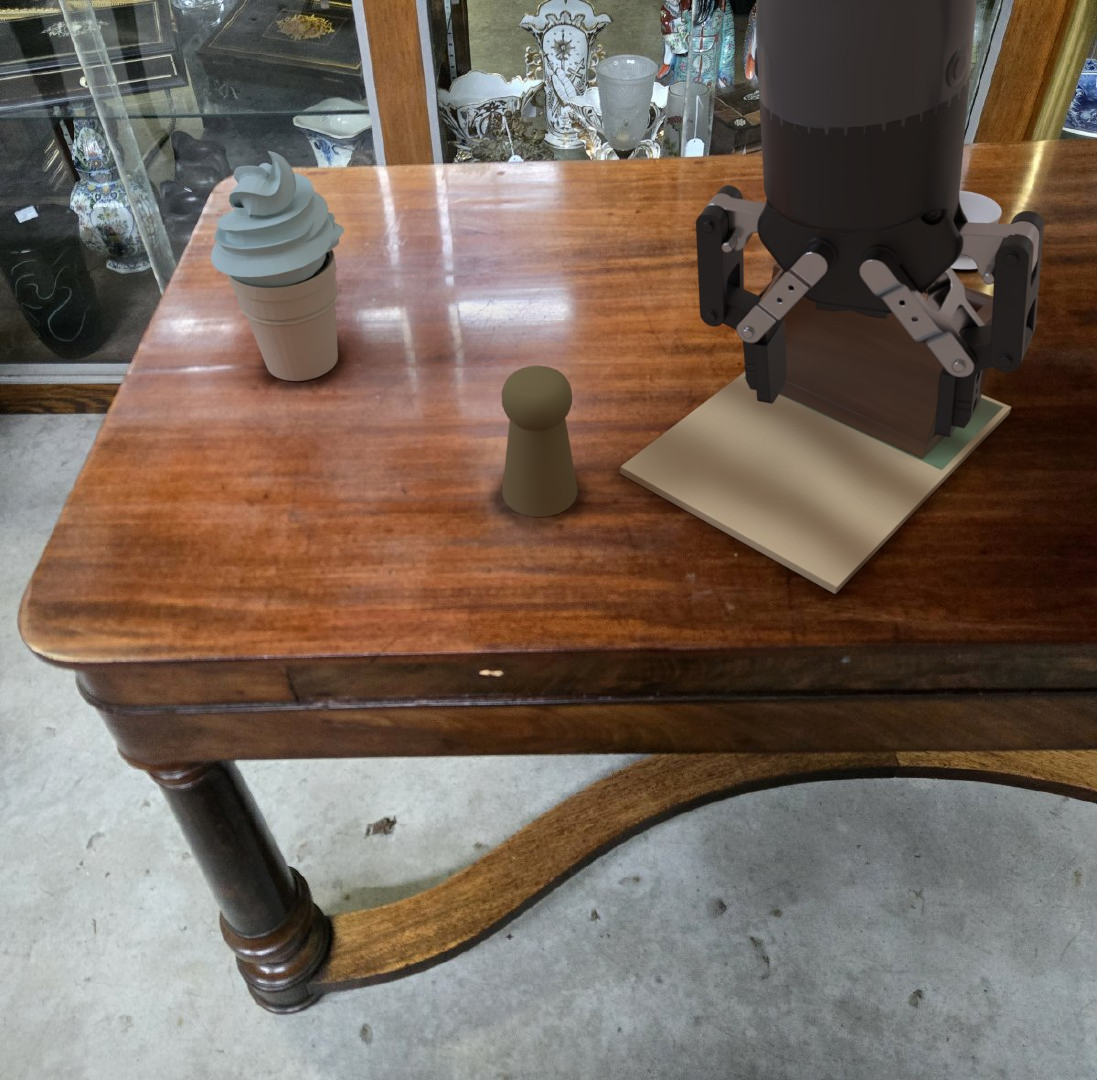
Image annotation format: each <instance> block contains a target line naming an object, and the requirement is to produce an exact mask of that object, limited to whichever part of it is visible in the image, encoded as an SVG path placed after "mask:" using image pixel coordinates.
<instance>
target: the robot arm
mask: <svg viewBox="0 0 1097 1080" xmlns="http://www.w3.org/2000/svg"><path fill="white" fill-rule="evenodd" d="M755 5H756V7H755V46H756V47H755V49H754V60H753V61H754V74H755V77H756V79H757V82H758V101H759V102H758V103H759V119H760V120H759V121H760V136H761V138H760V140H761V158H762V173H763V176H762V178H763V190H764V191H763V192H764V194H765V198H766V201H765V202H761V201H755V200H749V199H744V196H743V193H742V192H741V190H740V189H738V188H737V187H736V186H734V185H730V184H729V185H728V184H726V185H723V186H722V187H720V188H719V190H718V191H717V192H716V194H715V195H714V196H713V197H712V198H710V201H709V202H708V203H707V204H706V205H705V207H704V209H703V210H702V211H701V213H700V214H699V215H698V216H697V218H696V220H695V235H696V237H695V238H696V256H697V257H696V259H697V260H696V261H697V280H698V301H699V302H698V303H699V316H700V319H701V321H702V322H704V324H706V325H707V326H708V327H713V328H716V327H717V328H718V327H720V326H722V324H723V325H725V326H727V327H729V328H732V329H733V330H735V332H736V335H737V336H738V338H739V339H740V340H741V341H742V347H743V348H742V349H743V361H744V369H745V371H746V372H745V371H744V372H745V374H746V382H747V383H748V385H749V387H750V389H752V390H756V391H757V400H758V401H760V402H765V403H770V404H773V403H774V401H775V400H776V398H777V396H778V395H779V393H780V391H781V390H782V388H783V386H784V384H785V381H786V377H787V368H786V345H785V322H784V319H781V318H782V317H783V316H784V315H785V314H786V313H787V312H788V311H789V310H790V309H791V308H792V307H793V306H794V305H795V304H796V303H797V302H798V301H799V299H800V298H801V297H802V296H804V297H805V298H807V299H808V300H810V301H811V302H813V303H816V309H819V310H826V311H844V310H852V311H855V312H857V313H860V314H863V315H866V316H868V317H875V318H882V319H887V317H888V315H889V314H891V313H893V314H894V315H895V316H896V317H897V319H898V320H899V321H900V323H901V324H902V325H903V326H904V328H905V329H906V330H907V332H908V333H909V334H910V336H911V337H912V338H913V339H914V340H915V341H916V342H917V343H922V342H923V343H925V344H926V345H927V346H928V347H929V349H930V350H931V351H932V352H933V354H934V355H935V356H936V358H937V359H938V360H939V362H940V363H941V364H942V365H943V368H942V370H941V372H940V375H939V386H938V398H937V409H936V420H935V434H936V435H941V436H946V437H951V436H952V434H953V432H954V430H955V428H956V427H960V428H965V427H966V425H967V424H968V423H969V421H970V419H971V417H972V415H973V412H974V410H975V408H976V406H977V403H978V401H979V393H980V392H979V391H980V384H981V377H982V370H983V369H985V368H994V369H995V370H997V371H998V372H1002V373H1011V372H1014V371H1017V370H1018V369H1019V368H1020V366H1021V364H1022V362H1023V360H1024V358H1025V356H1026V353H1027V350H1028V348H1029V346H1030V343H1031V341H1032V338H1033V335H1034V333H1035V331H1036V326H1037V325H1036V324H1037V315H1038V302H1039V291H1040V290H1039V289H1040V279H1041V268H1042V267H1041V266H1042V255H1043V254H1042V253H1043V245H1044V244H1043V243H1044V242H1043V241H1044V229H1045V222H1044V219H1043V217H1042V216H1041V215H1040V214H1039V213H1037V212H1035V211H1032V210H1024V211H1021V212H1017V213H1016V214H1015V215H1014V216H1013V218H1011V221H1010V223H998V224H995V223H971V222H968V220H967V218H966V216H965V214H964V212H963V210H962V207H961V204H960V199H959V191H961V180H962V170H963V169H962V168H963V159H964V158H963V156H964V148H965V138H966V137H965V135H966V124H967V114H968V103H969V92H970V91H969V90H970V81H971V80H970V79H971V69H972V68H971V67H972V59H973V47H974V37H975V36H974V35H975V24H976V13H977V0H756V4H755ZM756 233H757V236H758V238H759V240H760V242H761V243H762V245H763V246H764V248H765V249H766V250H767V251H768V253H769V254H770V255H771V257H772V259H774V260H775V262H776V263H778V264H779V266H780V267H781V269H780V271H779V272H778V273H777V275H776V276H775V277H774V278H773V279H772V278H771V280H770V281H769V282H768V283H767V284H766V286H765V287H764V288H763V289H762V290H761V291H760V292H759V293H758V294H755V293H753V292H752V291H749V290H747V289H745V273H744V270H745V269H744V268H745V267H744V263H745V262H744V260H745V259H744V257H745V256H744V248H745V246H746V245H747V244H748V243H749V241H750V240H751V238H752V237H753V235H754V234H756ZM960 255H965V256H968V257H970V258H971V259H973V260H974V261H975V263H976V265H977V268H976V269H977V273H978V275H979V276H980V277H981V280H982V282H983V284H985V285H988V286H991V285H993V289H992V291H993V292H992V296H993V309H992V324H991V325H985V324H984V323H983V321H982V320H981V319H980V317H979V316H978V315H977V313H976V312H975V311H974V309H973V308H972V306H971V305H970V304H969V302H968V301H967V299H966V297H965V289H964V286H965V285H964V284H963V282H962V281H961V279H960V278H959V276H958V275H957V274H956V272H955V271H954V270H953V268H951V266H952V265H953V264H954V263H955V262H956V261H957V259H958V258H959V256H960ZM963 285H964V286H963ZM925 290H926V292H927V294H926V299H925V297H924V296H923V294H924V293H923V292H924V291H925Z"/></svg>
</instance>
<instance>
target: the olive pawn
mask: <svg viewBox="0 0 1097 1080" xmlns="http://www.w3.org/2000/svg"><path fill="white" fill-rule="evenodd" d="M501 404H502V409H503V411H504V413H505V415H506V417H507V419H508V420H509V424H508V433H507V441H506V442H507V443H506V452H505V453H506V454H505V463H504V470H503V480H502V488H501V489H502V498H503V501H504V502H505V504H506V506H507V507H509V508H510V509H511V510H512V511H514V512H516V513H518V514H519V515H523V516H528V517H532V518H545V517H547V518H548V517H551V516H555V515H559V514H560V513H563V512H565V511H566V510H567V509H569V508H570V507H571V506H572V505H573V504H574V503H575V501H576V499H577V497H578V494H579V493H578V484H577V477H576V472H575V465H574V460H573V455H572V449H571V444H570V438H569V432H568V431H569V430H568V425H567V420H566V417H567V416H568V415H569V413H570V411H571V408H572V404H573V391H572V387H571V383H570V382H569V380H568V379H567V377H566V376H565V374H563V373H562V372H561V371H559V370H558V369H556V368H553V367H550V366H546V365H529V366H525V367H520V368H518V369H517V370H515V371H513V372H512V373H511V374H510V375H509V376H508V377H507V379H506V380H505V382H504V385H503V386H502V390H501Z"/></svg>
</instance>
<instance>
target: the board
mask: <svg viewBox="0 0 1097 1080" xmlns="http://www.w3.org/2000/svg"><path fill="white" fill-rule="evenodd" d="M745 372H746V370H745V371H744V372H742V373H741V374H740V375H738V376H737V377H736V378H734V379H733V380H732V381H730V382H729V383H728V384H727V385H725V386H723V388H721V389H720V390H719V391H718V392H716V393H715V394H713V395H712V396H711V397H710V398H708V399H707V400H705V402H703V403H702V404H700V405H699V406H698V407H697V408H695V409H694V410H693V411H691V412H689V414H688V415H686V416H685V417H684V418H682V419H681V420H679V421H678V422H677V423H675V424H674V425H673V426H672V427H670V428H669V429H667V430H666V431H665V432H664V433H662V434H661V435H660V436H658V437H657V438H656V439H655V440H653V441H652V442H651V443H649V444H648V445H646V446H645V447H644V448H642V449H641V450H640V451H639V452H638V453H636V454H635V455H634V456H632V457H631V458H630V459H628V460H627V461H625V462H624V463H623V464H621V466H620V472H619V473H620V475H622V476H624V477H625V478H627V479H629V480H631V481H632V482H634V483H636V484H637V485H639V486H641V487H643V488H644V489H646V490H648V491H650V492H652V493H654V494H656V495H657V496H659V497H661V498H663V499H664V500H666V501H668V502H670V503H671V504H674V505H675V506H677V507H679V508H680V509H683V510H684V511H686V512H688V513H690V514H692V515H693V516H695V517H697V518H699V519H700V520H702V521H704V522H706V523H708V524H709V525H711V526H713V527H714V528H716V529H718V530H720V531H722V532H723V533H725V534H727V535H729V536H731V537H732V538H735V540H738V541H739V542H740V543H743V544H745V545H746V546H748V547H750V548H752V549H754V550H756V551H757V552H759V553H761V554H763V555H765V556H766V557H768V558H770V559H772V560H774V562H777V563H779V564H780V565H782V566H784V567H785V568H788V569H789V570H791V571H793V572H795V573H797V574H798V575H800V576H802V577H804V578H805V579H807V580H809V581H810V582H812V583H814V584H816V585H818V586H820V587H821V588H823V589H825V590H827V591H829V593H830V592H831V593H832V594H834V595H837V593H838V592H839V591H840V590H841V589H843V587H844V586H846V584H847V583H848V582H849V581H850V580H851V579H852V578H853V577H854V575H855V574H857V573H858V571H860V569H862V567H863V566H864V565H865V564H866V563H867V562H868V561H869V560H870V559H871V558H872V557H873V556H874V555H875V554H876V553H877V552H878V551H879V549H881V547H883V545H885V544H886V542H887V541H888V540H889V539H890V538H891V537H892V536H893V535H894V534H895V533H896V532H897V531H898V530H899V529H900V528H901V527H902V526H903V524H905V522H907V521H908V519H910V517H911V516H913V514H914V513H916V511H917V510H918V509H919V508H920V507H921V506H922V505H923V504H924V503H925V502H926V501H927V500H928V499H929V498H930V497H931V496H932V494H934V493H935V492H936V490H938V489H939V487H941V485H943V484H944V482H945V481H946V480H947V479H948V478H949V477H950V476H951V475H952V474H953V473H954V472H955V471H956V470H957V469H958V467H960V466H961V465H962V463H964V461H966V459H968V457H969V456H971V454H972V453H973V452H974V451H975V450H977V448H979V446H980V445H981V444H982V443H983V442H984V441H985V440H986V438H988V436H990V434H991V433H992V432H993V431H994V430H996V428H997V427H998V426H999V425H1000V424H1001V423H1002V422H1003V421H1004V420H1005V419H1006V418H1007V417H1008V416H1009V415H1010V412H1011V409H1012V406H1011V405H1008V404H1005V403H1003V402H1000V401H998V400H996V399H993V398H991V397H989V396H986V395H984V394H982V395H981V398H980V401H979V403H978V404H977V406H976V408H975V410H974V412H973V415H972V417H971V419H970V421H969V423H968V424H967V425H966V427H965V428H960V427H956V428H955V430H954V432H953V434H952V436H951V437H946V436H945V437H944V438H943V439H942V440H941V441H940V442H939V443H938V444H937V445H936V446H935V447H934V448H933V449H932V450H931V451H930V452H929V453H928V454H927V455H926V456H925V457H924V458H923V459H920V458H918V457H916V456H914V455H912V454H909V453H907V452H905V451H903V450H901V449H899V448H897V447H894V446H892V445H890V444H888V443H886V442H884V441H881V440H879V439H877V438H875V437H873V436H871V435H869V434H866V433H864V432H862V431H860V430H858V429H856V428H854V427H851V426H849V425H847V424H845V423H843V422H841V421H838V420H836V419H834V418H832V417H830V416H828V415H826V414H823V413H821V412H819V411H817V410H815V409H813V408H810V407H808V406H806V405H804V404H802V403H800V402H798V401H795V400H793V399H791V398H789V397H787V396H785V395H782V394H780V393H779V395H778V396H777V398H776V400H775V401H774V403H773V404H770V403H765V402H760V401H758V400H757V391H756V390H752V389H750V387H749V385H748V383H747V382H746V374H745Z"/></svg>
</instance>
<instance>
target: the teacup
mask: <svg viewBox="0 0 1097 1080" xmlns="http://www.w3.org/2000/svg"><path fill="white" fill-rule="evenodd" d="M959 199H960V204H961V207H962V210H963V212H964V214H965V216H966V218H967V220H968V222H971V223H995V224H999V221H1000V219H1001V217H1002V214H1003V211H1002V207H1001V206H1000V205H999V203H997V202H996V201H995V200H994V199H992V198H990V197H988V196H986V195H984V194H980V193H977V192H972V191H966V190H960V191H959ZM951 268H952V269H955V270H976V269H978V268H977V265H976V263H975V261H974V260H973V259H971V258H970V257H968V256H965V255H960V256H959V258H958V259H957V261H956V262H955V263H954V264H953V265H952V266H951Z"/></svg>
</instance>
